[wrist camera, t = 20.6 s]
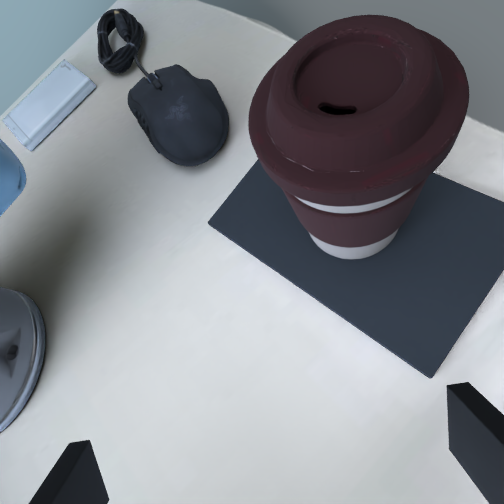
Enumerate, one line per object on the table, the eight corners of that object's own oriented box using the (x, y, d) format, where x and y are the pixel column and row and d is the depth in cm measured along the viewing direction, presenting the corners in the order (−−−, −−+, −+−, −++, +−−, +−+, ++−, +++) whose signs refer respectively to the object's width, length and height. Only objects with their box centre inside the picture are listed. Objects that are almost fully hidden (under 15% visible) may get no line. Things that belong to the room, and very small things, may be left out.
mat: (209, 225, 32) (207, 222, 32) (294, 118, 34) (293, 114, 33) (429, 378, 23) (431, 378, 22) (534, 220, 24) (538, 216, 24)
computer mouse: (184, 189, 35) (155, 158, 30) (88, 50, 49) (58, 13, 44) (256, 134, 34) (239, 94, 29) (139, 10, 49) (114, -31, 44)
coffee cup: (362, 149, 29) (367, -42, 16) (447, 227, 25) (551, 56, 12) (271, 213, 30) (202, 80, 16) (339, 302, 26) (320, 218, 12)
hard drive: (63, 57, 47) (-1, 118, 46) (89, 78, 44) (21, 144, 43) (72, 67, 49) (10, 126, 48) (98, 87, 45) (32, 152, 44)
